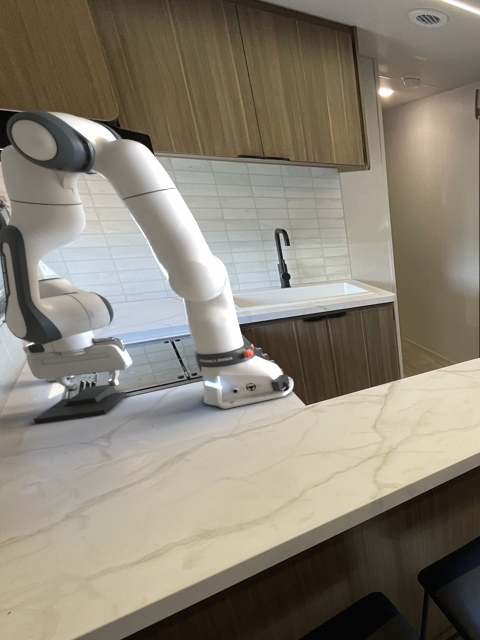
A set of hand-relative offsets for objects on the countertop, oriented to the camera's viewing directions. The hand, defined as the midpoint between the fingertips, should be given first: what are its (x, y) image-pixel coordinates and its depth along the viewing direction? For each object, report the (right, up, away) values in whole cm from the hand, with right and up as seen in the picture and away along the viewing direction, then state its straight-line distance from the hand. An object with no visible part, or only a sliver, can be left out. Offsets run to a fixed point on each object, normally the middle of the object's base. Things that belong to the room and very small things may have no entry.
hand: (94, 387), depth 112 cm
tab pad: (0, -3, +1) cm, 4 cm away
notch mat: (+2, -5, -4) cm, 7 cm away
